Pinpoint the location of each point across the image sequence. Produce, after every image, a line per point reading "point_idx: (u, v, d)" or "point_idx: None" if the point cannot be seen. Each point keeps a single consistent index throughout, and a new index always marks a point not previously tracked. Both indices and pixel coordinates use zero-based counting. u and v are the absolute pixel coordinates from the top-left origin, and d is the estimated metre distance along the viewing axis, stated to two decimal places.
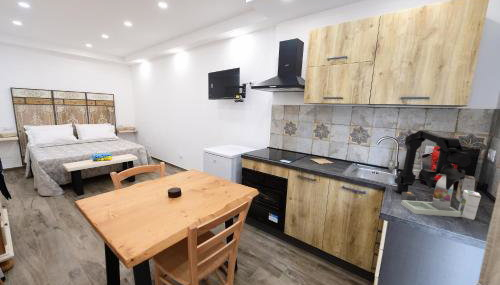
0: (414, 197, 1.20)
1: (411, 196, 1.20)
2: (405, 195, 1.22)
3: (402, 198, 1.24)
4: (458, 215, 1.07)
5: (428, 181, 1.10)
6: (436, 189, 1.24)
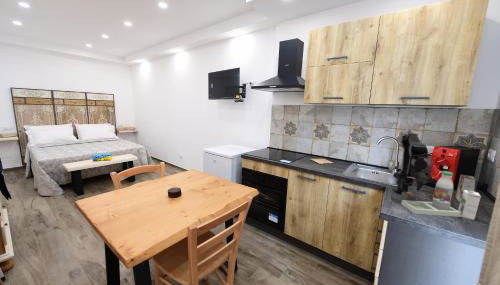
0: (414, 197, 1.20)
1: (411, 196, 1.20)
2: (405, 195, 1.22)
3: (402, 198, 1.24)
4: (458, 215, 1.07)
5: (400, 183, 1.22)
6: (436, 189, 1.24)
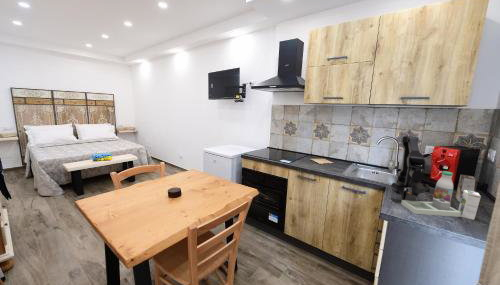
0: (414, 197, 1.20)
1: (411, 196, 1.20)
2: None
3: None
4: (458, 215, 1.07)
5: (402, 194, 1.23)
6: (436, 189, 1.24)
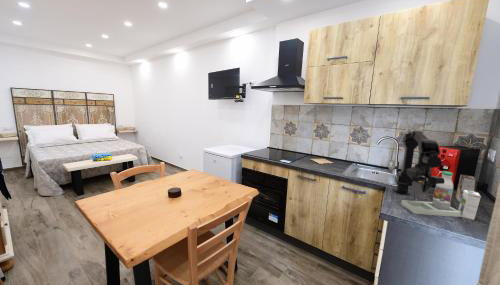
0: (419, 185, 1.11)
1: (416, 183, 1.13)
2: None
3: None
4: (458, 215, 1.07)
5: None
6: (436, 189, 1.24)
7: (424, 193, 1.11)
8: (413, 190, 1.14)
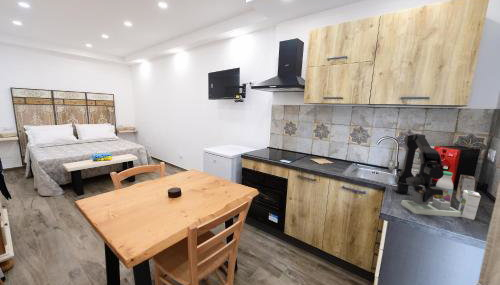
0: (418, 195, 1.11)
1: (416, 192, 1.12)
2: None
3: None
4: (458, 215, 1.07)
5: None
6: None
7: (424, 203, 1.10)
8: (413, 199, 1.14)
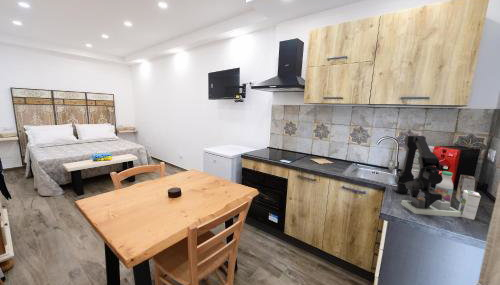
0: (417, 202, 1.11)
1: (415, 199, 1.13)
2: None
3: None
4: (458, 215, 1.07)
5: None
6: (436, 189, 1.24)
7: None
8: None
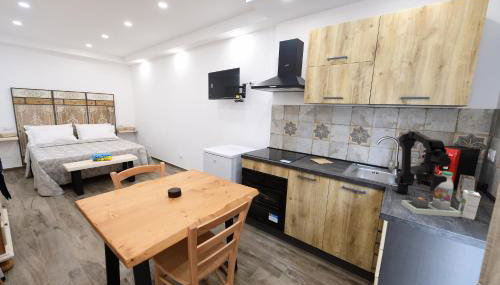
0: (417, 202, 1.11)
1: (415, 199, 1.13)
2: None
3: None
4: (458, 215, 1.07)
5: None
6: (436, 189, 1.24)
7: None
8: None
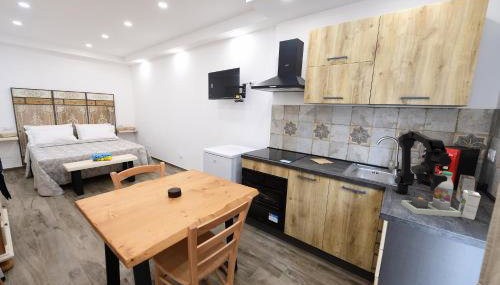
0: (417, 202, 1.11)
1: (415, 199, 1.13)
2: None
3: None
4: (458, 215, 1.07)
5: None
6: (436, 189, 1.24)
7: None
8: None
